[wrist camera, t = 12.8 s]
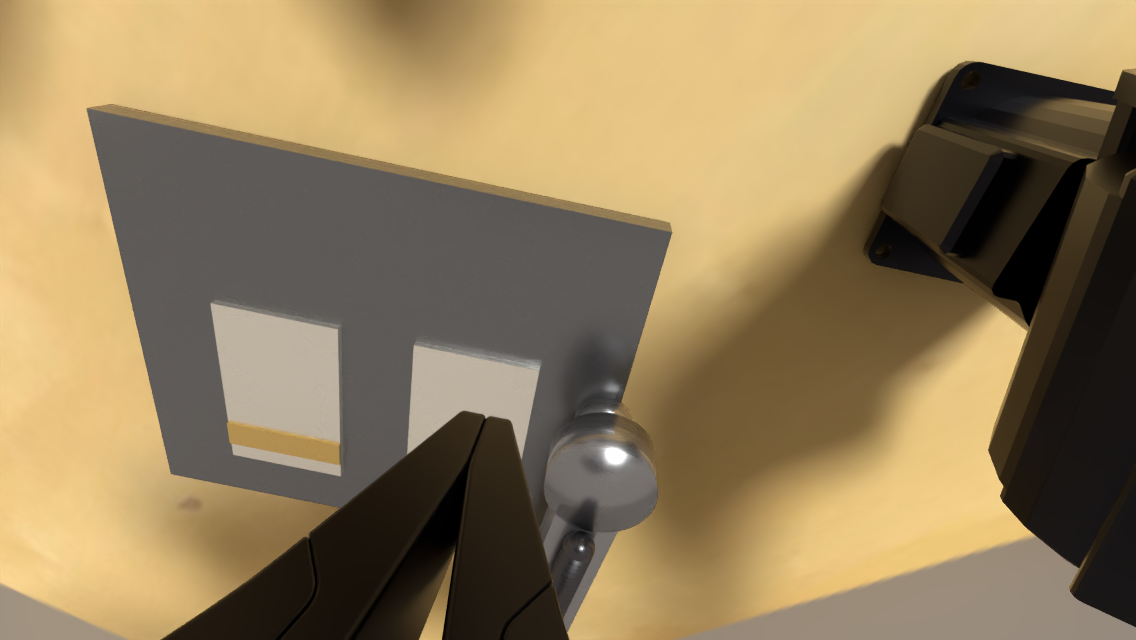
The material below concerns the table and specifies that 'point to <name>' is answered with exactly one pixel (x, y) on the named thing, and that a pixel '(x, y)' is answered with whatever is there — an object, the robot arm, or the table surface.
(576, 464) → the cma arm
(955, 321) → the table surface
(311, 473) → the panel
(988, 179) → the robot arm
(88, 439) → the table surface
